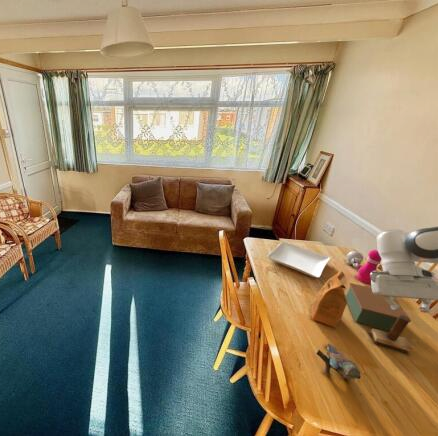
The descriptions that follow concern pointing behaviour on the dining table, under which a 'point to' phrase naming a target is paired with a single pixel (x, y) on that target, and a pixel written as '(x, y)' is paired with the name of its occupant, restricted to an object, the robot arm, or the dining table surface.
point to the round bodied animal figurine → (354, 258)
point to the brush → (393, 336)
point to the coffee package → (330, 301)
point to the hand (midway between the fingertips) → (410, 311)
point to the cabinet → (372, 307)
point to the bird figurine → (339, 363)
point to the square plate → (299, 259)
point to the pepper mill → (369, 266)
